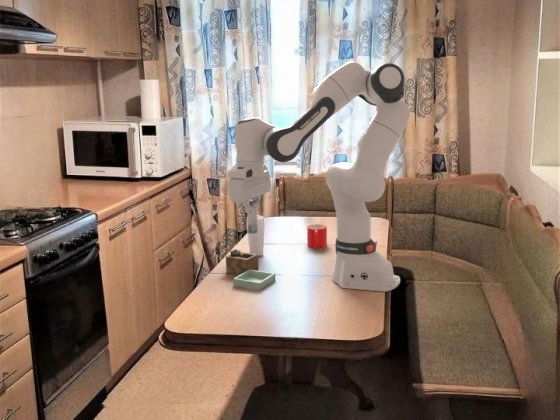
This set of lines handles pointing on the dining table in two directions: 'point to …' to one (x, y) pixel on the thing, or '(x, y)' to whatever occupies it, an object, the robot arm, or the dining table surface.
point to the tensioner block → (241, 262)
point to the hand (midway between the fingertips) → (252, 210)
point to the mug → (317, 236)
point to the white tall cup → (257, 237)
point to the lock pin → (252, 218)
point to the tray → (254, 279)
